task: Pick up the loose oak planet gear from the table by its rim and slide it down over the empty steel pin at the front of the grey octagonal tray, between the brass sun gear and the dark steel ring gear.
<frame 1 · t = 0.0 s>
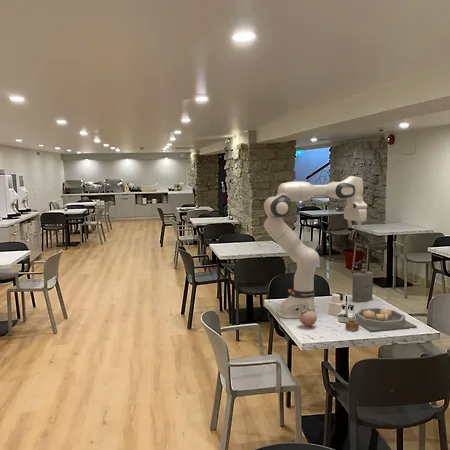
hand: (354, 228, 259), 48 cm above the table, tool pointing down, fingers open, 8 cm apart
decorative fruit: (308, 327, 235), on the table
flask: (362, 300, 283), on the table
grey octagonal tray: (380, 322, 242), on the table
planet gear: (352, 329, 231), on the table
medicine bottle: (337, 314, 256), on the table
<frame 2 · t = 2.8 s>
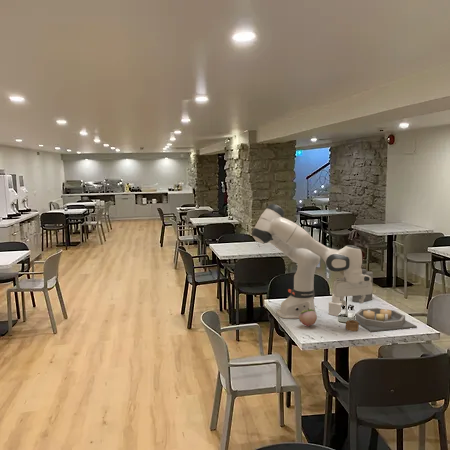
hand: (352, 303, 229), 13 cm above the table, tool pointing down, fingers open, 8 cm apart
nothing on the table moved.
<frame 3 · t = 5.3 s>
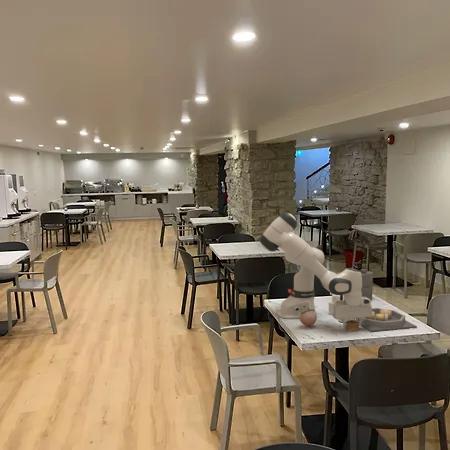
hand: (352, 326, 230), 2 cm above the table, tool pointing down, fingers closed on planet gear, 6 cm apart
planet gear: (352, 329, 231), on the table, touching gripper
everything else where it was.
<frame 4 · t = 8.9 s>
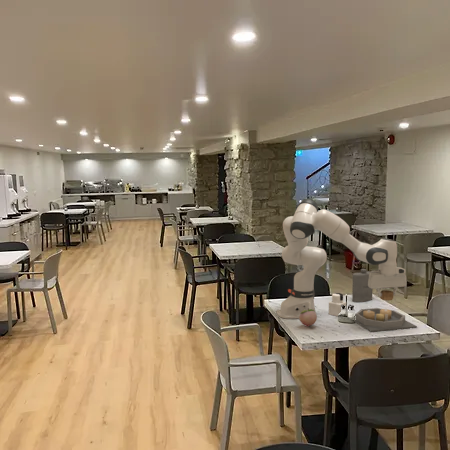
hand: (386, 295, 234), 16 cm above the table, tool pointing down, fingers closed on planet gear, 6 cm apart
planet gear: (386, 299, 234), point 14 cm above the table, touching gripper
everything else where it was.
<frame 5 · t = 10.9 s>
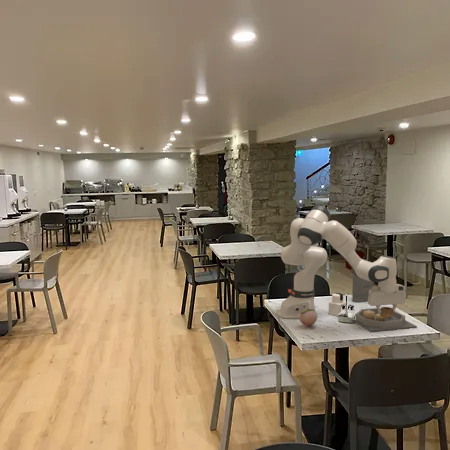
hand: (386, 312, 235), 7 cm above the table, tool pointing down, fingers closed on planet gear, 6 cm apart
planet gear: (386, 315, 235), point 5 cm above the table, touching gripper
everything else where it was.
when the fingers open (4 cm above the table, at t = 12.4 s): planet gear drops 1 cm, resting on grey octagonal tray.
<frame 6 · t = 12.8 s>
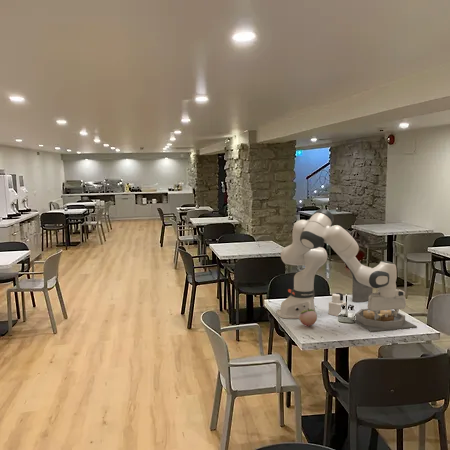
hand: (386, 317, 235), 4 cm above the table, tool pointing down, fingers open, 8 cm apart
planet gear: (387, 323, 236), point 1 cm above the table, touching grey octagonal tray
everything else where it was.
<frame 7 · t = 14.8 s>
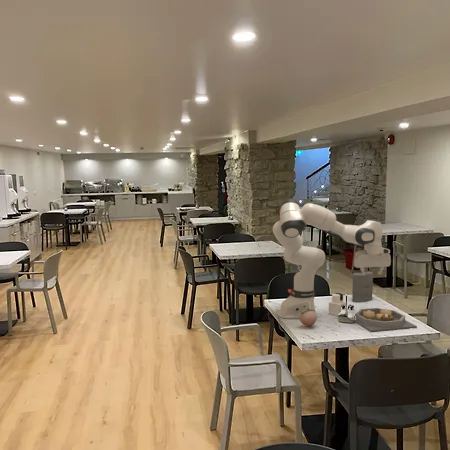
hand: (371, 275, 244), 25 cm above the table, tool pointing down, fingers open, 8 cm apart
nothing on the table moved.
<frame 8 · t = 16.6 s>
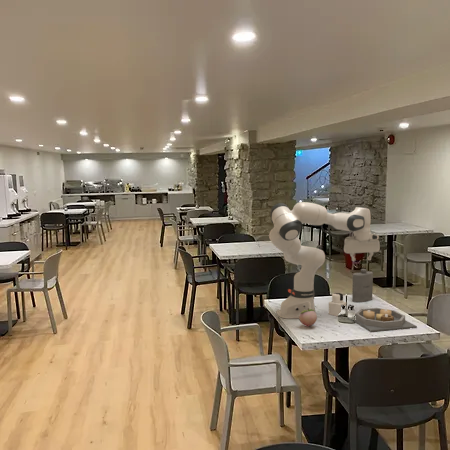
hand: (361, 260, 251), 31 cm above the table, tool pointing down, fingers open, 8 cm apart
nothing on the table moved.
at the end: planet gear 0.6 cm from the target spot on the grey octagonal tray, point 1.0 cm above the grey octagonal tray's base; planet gear tilted 0°; the gripper is holding nothing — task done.
